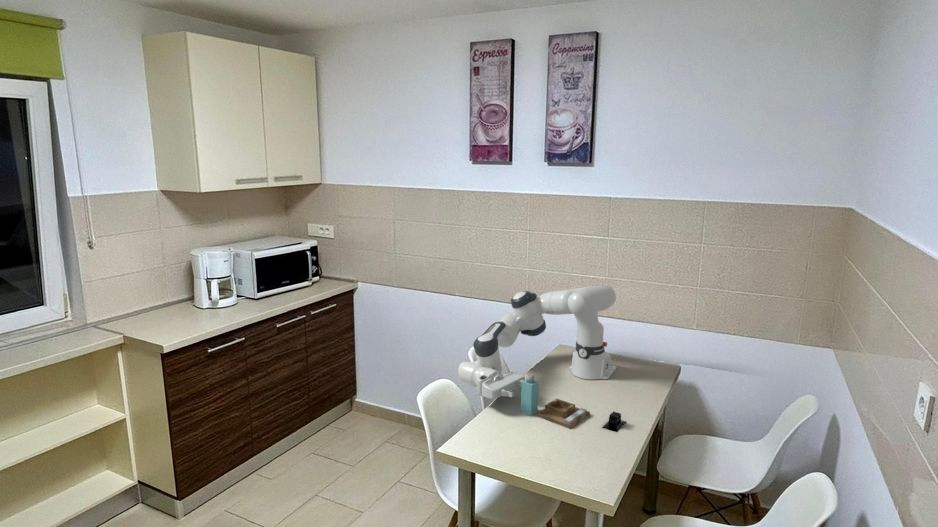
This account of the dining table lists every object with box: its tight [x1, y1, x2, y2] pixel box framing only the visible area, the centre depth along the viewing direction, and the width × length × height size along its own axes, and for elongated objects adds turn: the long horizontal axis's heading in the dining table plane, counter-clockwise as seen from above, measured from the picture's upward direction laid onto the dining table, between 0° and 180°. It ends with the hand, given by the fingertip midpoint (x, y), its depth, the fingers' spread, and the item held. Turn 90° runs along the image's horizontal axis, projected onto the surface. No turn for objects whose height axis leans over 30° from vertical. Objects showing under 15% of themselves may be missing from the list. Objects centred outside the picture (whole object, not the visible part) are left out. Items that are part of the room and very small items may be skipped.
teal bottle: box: [520, 374, 540, 417], centre depth 200 cm, size 4×4×14 cm
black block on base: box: [601, 411, 627, 433], centre depth 192 cm, size 12×7×5 cm, turn 144°
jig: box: [536, 398, 591, 430], centre depth 199 cm, size 14×14×4 cm
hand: (520, 390), depth 202 cm, fingers open, 8 cm apart
